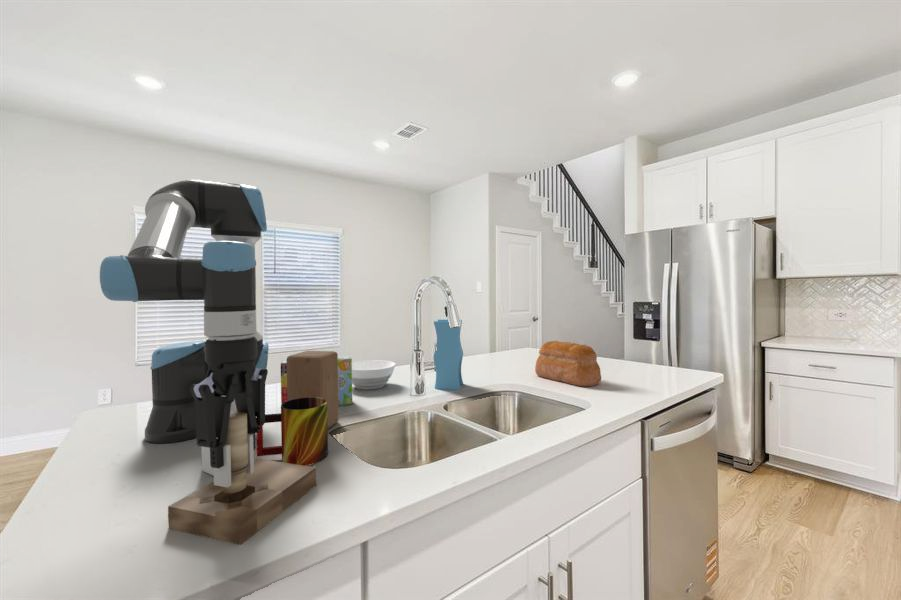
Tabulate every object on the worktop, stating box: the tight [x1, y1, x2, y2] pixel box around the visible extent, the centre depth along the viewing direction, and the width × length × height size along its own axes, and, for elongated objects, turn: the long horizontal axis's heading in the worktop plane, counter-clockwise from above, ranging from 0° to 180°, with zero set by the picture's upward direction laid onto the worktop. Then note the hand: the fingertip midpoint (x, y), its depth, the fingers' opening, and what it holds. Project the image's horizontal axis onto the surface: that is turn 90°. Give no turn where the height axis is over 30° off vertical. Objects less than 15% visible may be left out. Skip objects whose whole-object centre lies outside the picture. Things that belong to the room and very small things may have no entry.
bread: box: [534, 340, 602, 388], centre depth 159 cm, size 14×26×15 cm, turn 34°
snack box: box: [280, 355, 353, 407], centre depth 126 cm, size 21×6×15 cm, turn 108°
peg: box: [223, 412, 248, 493], centre depth 65 cm, size 4×4×12 cm
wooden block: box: [286, 350, 340, 429], centre depth 106 cm, size 10×10×20 cm
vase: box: [433, 318, 464, 391], centre depth 150 cm, size 10×10×25 cm
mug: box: [255, 397, 329, 466], centre depth 87 cm, size 10×14×12 cm
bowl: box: [352, 359, 396, 391], centre depth 151 cm, size 20×20×8 cm
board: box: [167, 458, 317, 545], centre depth 68 cm, size 14×18×4 cm
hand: (234, 478), depth 65 cm, fingers closed on peg, 4 cm apart
